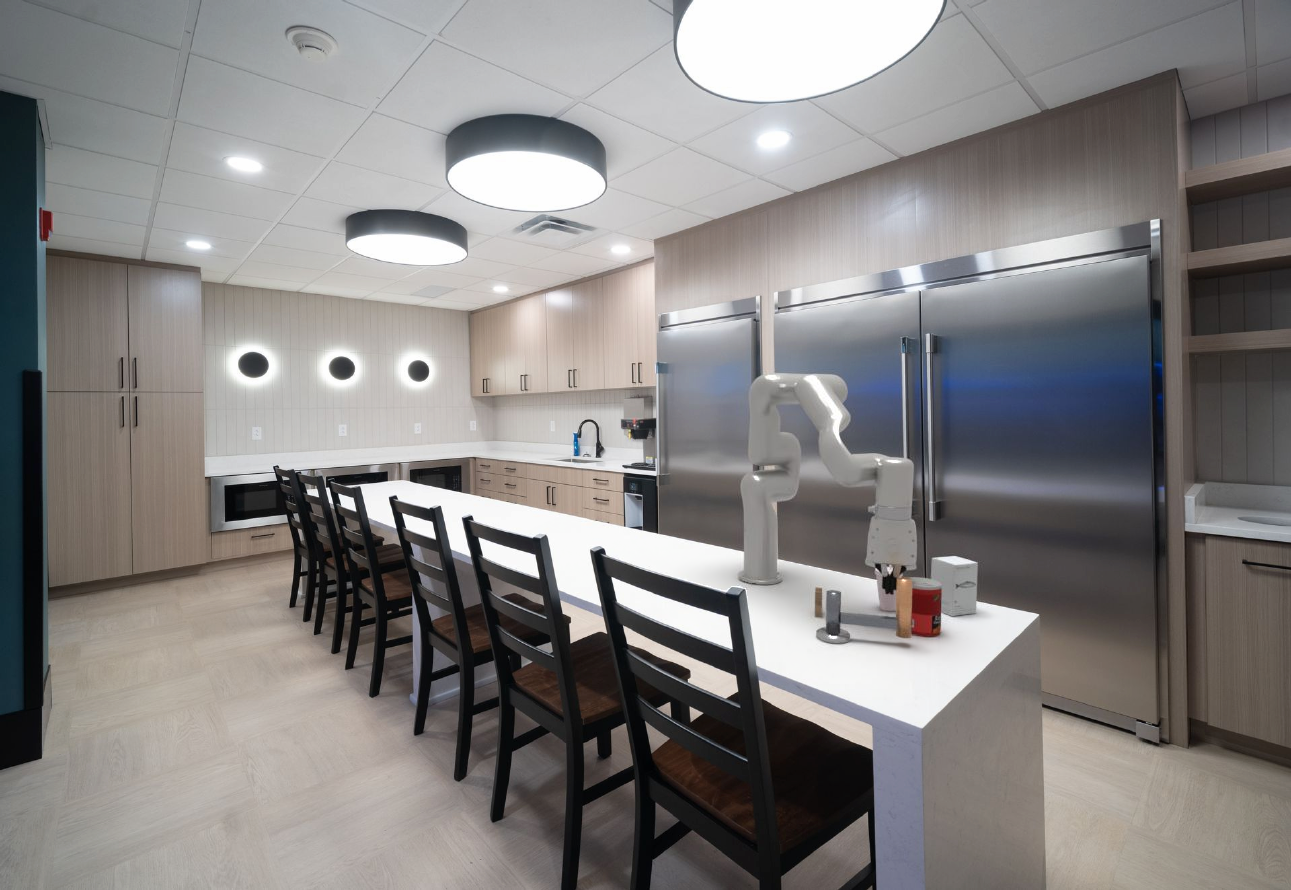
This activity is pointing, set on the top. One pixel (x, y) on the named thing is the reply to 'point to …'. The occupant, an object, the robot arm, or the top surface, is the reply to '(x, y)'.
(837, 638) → the pivot base
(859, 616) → the double handled crank lever
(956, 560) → the supplement box
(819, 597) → the brown wooden block
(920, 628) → the canned food
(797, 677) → the top surface
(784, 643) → the top surface
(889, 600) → the smoothie
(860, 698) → the top surface
